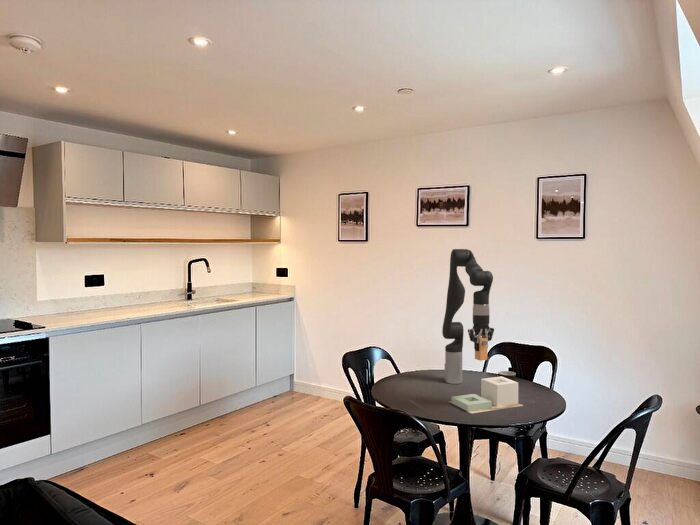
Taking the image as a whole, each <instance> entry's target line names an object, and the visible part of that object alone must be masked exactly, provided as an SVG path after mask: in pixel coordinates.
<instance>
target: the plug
mask: <svg viewBox="0 0 700 525" xmlns="http://www.w3.org/2000/svg"><path fill="white" fill-rule="evenodd" d="M474 360H476V361H477V360H478V361H487V360H488V349H487V338H484V337H482V336H481V338H480V339H479V351H475V350H474Z"/></svg>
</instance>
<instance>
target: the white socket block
mask: <svg viewBox="0 0 700 525" xmlns="http://www.w3.org/2000/svg"><path fill="white" fill-rule="evenodd" d="M480 382H481V383H480V386H481V387H480V393H481V394H480V395H481V397H483V398H485V399H487V400H489V401H492V405H494V406H497V407H500V406H507V405H513V404H518V403H519V382H517V381H516V380H515V381H513V380H510V379H507V378H505V377H502V376H500V377H499V376H498V377H494V376H492V377H486V378H481V379H480Z"/></svg>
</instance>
